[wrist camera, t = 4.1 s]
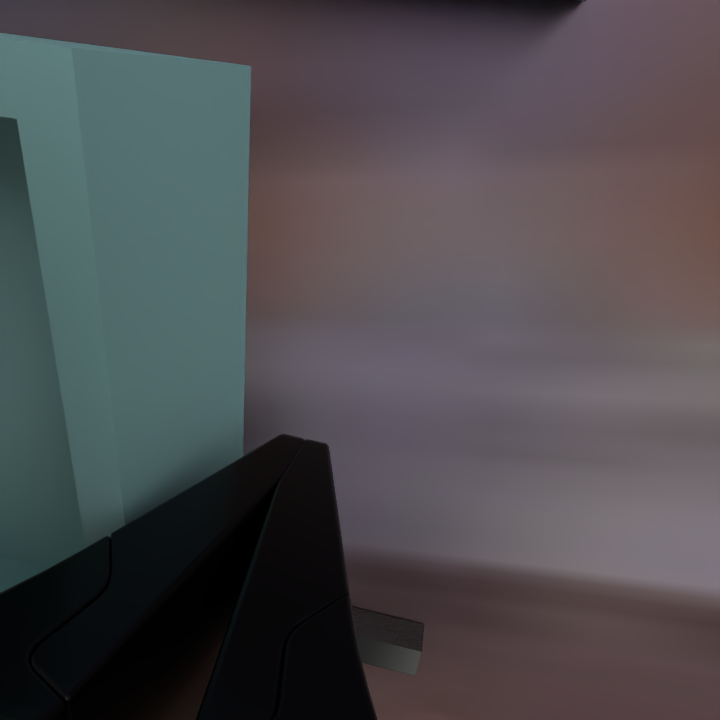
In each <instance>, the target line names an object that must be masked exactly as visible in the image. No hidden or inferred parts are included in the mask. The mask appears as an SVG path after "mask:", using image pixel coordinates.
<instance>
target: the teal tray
mask: <svg viewBox="0 0 720 720" xmlns="http://www.w3.org/2000/svg"><path fill="white" fill-rule="evenodd" d="M250 92H251V66H248V65H240V64H233V63H225V62H217V61H210V60H202V59H195V58H187V57H180V56H172V55H164V54H157V53H149V52H142V51H134V50H127V49H119V48H112V47H104V46H96V45H89V44H81V43H74V42H66V41H59V40H51V39H43V38H36V37H28V36H21V35H13V34H6V33H0V592H2V591H4V590H6V589H8V588H10V587H12V586H14V585H16V584H18V583H20V582H22V581H24V580H26V579H28V578H30V577H32V576H34V575H36V574H38V573H40V572H42V571H44V570H46V569H48V568H50V567H52V566H53V565H55V564H57V563H59V562H61V561H62V560H64V559H66V558H68V557H70V556H71V555H73V554H75V553H77V552H79V551H81V550H82V549H84V548H86V547H87V546H89V545H91V544H93V543H94V542H96V541H98V540H100V539H101V538H103V537H105V536H109V537H110V536H111V533H112V532H114V531H115V530H117V529H119V528H121V527H122V526H124V525H126V524H127V523H129V522H131V521H133V520H134V519H136V518H138V517H139V516H141V515H143V514H145V513H146V512H148V511H150V510H152V509H153V508H155V507H157V506H158V505H160V504H162V503H164V502H165V501H167V500H169V499H170V498H172V497H174V496H176V495H177V494H179V493H181V492H182V491H184V490H186V489H188V488H189V487H191V486H193V485H194V484H196V483H198V482H200V481H201V480H203V479H205V478H207V477H208V476H210V475H212V474H213V473H215V472H217V471H219V470H220V469H222V468H224V467H225V466H227V465H229V464H231V463H232V462H234V461H236V460H237V459H239V458H241V457H243V435H244V386H245V337H246V288H247V239H248V190H249V141H250Z"/></svg>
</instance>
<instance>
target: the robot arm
mask: <svg viewBox="0 0 720 720" xmlns="http://www.w3.org/2000/svg"><path fill="white" fill-rule="evenodd" d="M349 595H350V594H349V587H348V579H347V572H346V565H345V558H344V551H343V544H342V537H341V530H340V523H339V516H338V508H337V501H336V494H335V487H334V480H333V473H332V466H331V459H330V452H329V446H328V445H327V444H326V443H322V442H318V441H313V440H304V439H303V438H299V437H295V436H290V435H286V434H281V435H279V436H277V437H275V438H274V439H272V440H270V441H268V442H267V443H265V444H263V445H262V446H260V447H258V448H256V449H255V450H253V451H251V452H249V453H248V454H246V455H244V456H243V457H241V458H239V459H237V460H236V461H234V462H232V463H231V464H229V465H227V466H225V467H224V468H222V469H220V470H219V471H217V472H215V473H213V474H212V475H210V476H208V477H207V478H205V479H203V480H201V481H200V482H198V483H196V484H194V485H193V486H191V487H189V488H188V489H186V490H184V491H182V492H181V493H179V494H177V495H176V496H174V497H172V498H170V499H169V500H167V501H165V502H164V503H162V504H160V505H158V506H157V507H155V508H153V509H152V510H150V511H148V512H146V513H145V514H143V515H141V516H139V517H138V518H136V519H134V520H133V521H131V522H129V523H127V524H126V525H124V526H122V527H121V528H119V529H117V530H115V531H114V532H112V533H111V536H110V537H109V536H105V537H103V538H101V539H100V540H98V541H96V542H94V543H93V544H91V545H89V546H87V547H86V548H84V549H82V550H81V551H79V552H77V553H75V554H73V555H71V556H70V557H68V558H66V559H64V560H62V561H61V562H59V563H57V564H55V565H53V566H52V567H50V568H48V569H46V570H44V571H42V572H40V573H38V574H36V575H34V576H32V577H30V578H28V579H26V580H24V581H22V582H20V583H18V584H16V585H14V586H12V587H10V588H8V589H6V590H4V591H2V592H0V720H377V717H376V713H375V710H374V706H373V703H372V700H371V696H370V693H369V689H368V685H367V681H366V677H365V673H364V669H363V665H362V661H361V657H360V653H359V647H358V642H357V636H356V631H355V625H354V620H353V613H352V606H351V599H350V598H349Z"/></svg>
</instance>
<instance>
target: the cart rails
mask: <svg viewBox="0 0 720 720" xmlns="http://www.w3.org/2000/svg"><path fill="white" fill-rule="evenodd" d="M575 1H584V2H585V1H586V0H575ZM352 613H353V620H354V625H355V631H356V636H357V642H358V647H359V653H360V657H361V661H362V663H366V664H370V665H374V666H378V667H382V668H385V669H389V670H393V671H397V672H401V673H405V674H409V675H413V676H415V675H416V671H417V668H418V664H419V660H420V656H421V652H422V643H423V632H424V624H420V623H416V622H412V621H408V620H404V619H399V618H395V617H391V616H387V615H383V614H379V613H375V612H371V611H367V610H362V609H358V608H354V607H352Z"/></svg>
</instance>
